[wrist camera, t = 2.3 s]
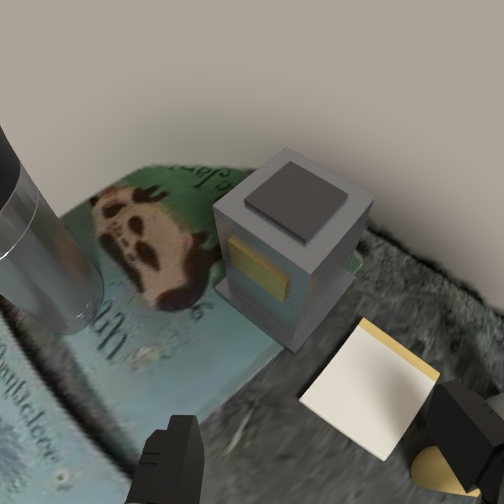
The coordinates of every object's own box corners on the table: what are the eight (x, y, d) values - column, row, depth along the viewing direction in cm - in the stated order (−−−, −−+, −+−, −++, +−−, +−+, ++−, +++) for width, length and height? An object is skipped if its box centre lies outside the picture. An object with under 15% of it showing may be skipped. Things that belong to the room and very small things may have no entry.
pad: (298, 400, 26) (299, 399, 26) (361, 319, 30) (363, 317, 30) (382, 460, 23) (384, 461, 22) (437, 375, 26) (440, 373, 26)
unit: (215, 292, 32) (190, 203, 21) (279, 230, 36) (284, 132, 25) (294, 355, 29) (315, 293, 17) (353, 281, 33) (394, 193, 21)
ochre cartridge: (402, 476, 21) (475, 485, 11) (428, 438, 23) (507, 425, 13) (432, 494, 20) (511, 506, 10) (456, 457, 22) (539, 449, 11)
